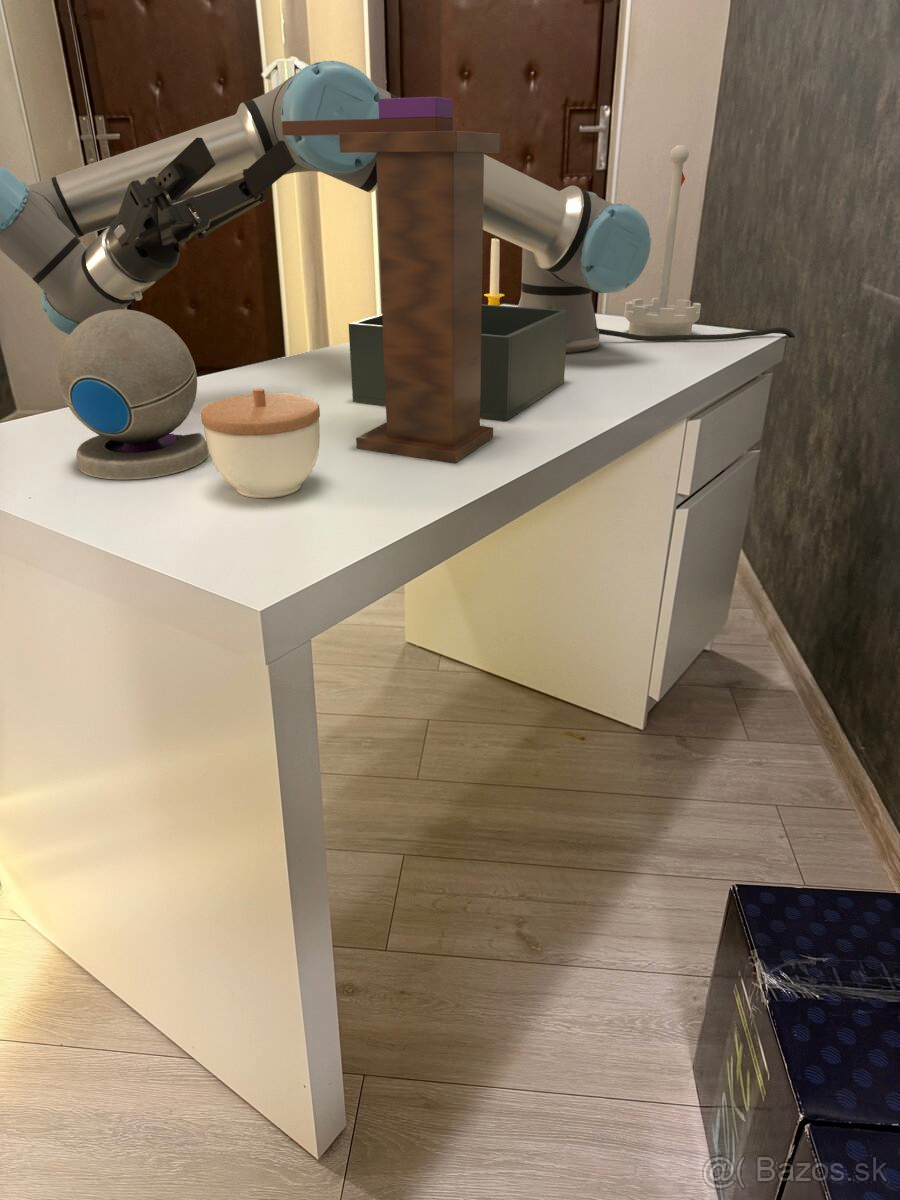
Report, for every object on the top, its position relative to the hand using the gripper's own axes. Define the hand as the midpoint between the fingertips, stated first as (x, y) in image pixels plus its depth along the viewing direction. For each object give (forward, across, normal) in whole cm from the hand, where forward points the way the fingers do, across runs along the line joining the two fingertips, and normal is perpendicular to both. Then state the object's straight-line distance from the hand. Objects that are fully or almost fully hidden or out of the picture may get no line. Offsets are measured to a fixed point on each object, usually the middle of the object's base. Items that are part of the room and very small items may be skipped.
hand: (250, 151), depth 86 cm
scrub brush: (+13, 0, -6) cm, 14 cm away
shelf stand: (+3, 0, -35) cm, 35 cm away
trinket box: (-3, +19, -31) cm, 37 cm away
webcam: (-18, +18, -23) cm, 34 cm away
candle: (-16, -73, -24) cm, 79 cm away
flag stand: (+11, -76, -39) cm, 86 cm away
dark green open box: (-2, -23, -32) cm, 39 cm away
